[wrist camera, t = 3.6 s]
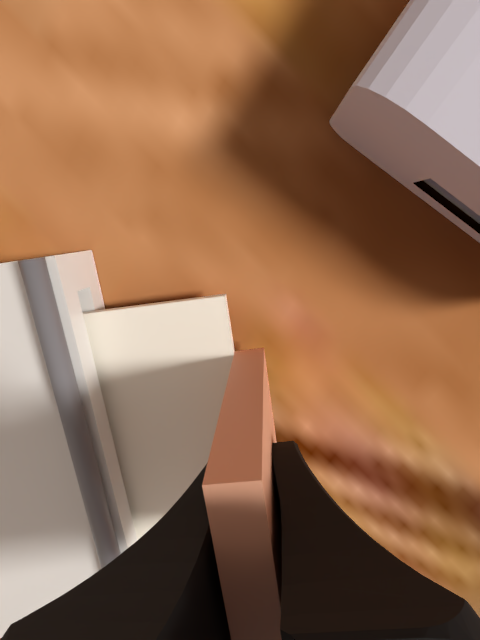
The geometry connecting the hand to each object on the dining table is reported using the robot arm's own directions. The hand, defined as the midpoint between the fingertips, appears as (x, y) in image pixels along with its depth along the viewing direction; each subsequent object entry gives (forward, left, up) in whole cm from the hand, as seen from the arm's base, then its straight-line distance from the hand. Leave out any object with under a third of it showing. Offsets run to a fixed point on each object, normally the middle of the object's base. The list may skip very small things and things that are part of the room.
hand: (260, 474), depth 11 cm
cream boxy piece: (0, +6, -3) cm, 6 cm away
